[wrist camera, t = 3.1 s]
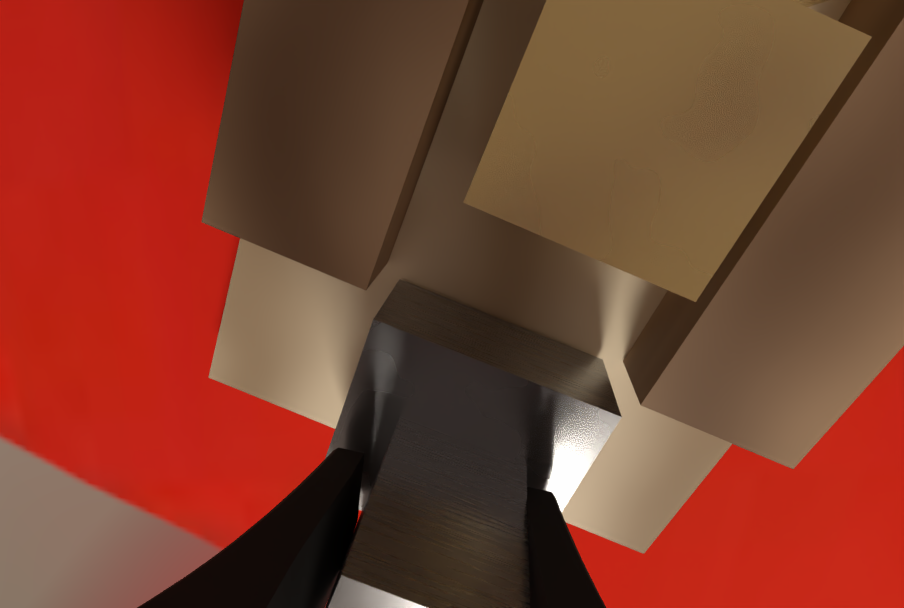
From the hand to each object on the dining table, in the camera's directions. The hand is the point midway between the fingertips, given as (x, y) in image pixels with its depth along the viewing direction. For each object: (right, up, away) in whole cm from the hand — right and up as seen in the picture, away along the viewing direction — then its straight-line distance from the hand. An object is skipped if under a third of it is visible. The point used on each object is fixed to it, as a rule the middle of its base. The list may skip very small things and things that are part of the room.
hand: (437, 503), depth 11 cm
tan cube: (+4, +8, 0) cm, 9 cm away
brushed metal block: (+1, +2, +2) cm, 3 cm away
